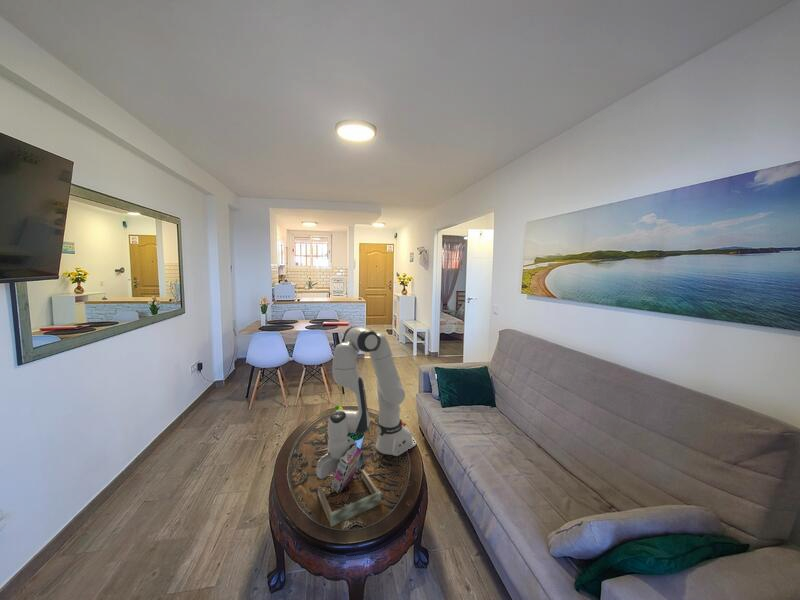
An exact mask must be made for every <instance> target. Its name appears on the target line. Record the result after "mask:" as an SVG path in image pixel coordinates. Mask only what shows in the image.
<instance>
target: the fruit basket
mask: <svg viewBox="0 0 800 600" xmlns="http://www.w3.org/2000/svg"><path fill="white" fill-rule="evenodd" d="M333 409H334V411H336V410H345V409H344V408H343V407H342V406H341V405H339V404H336V405H334V408H333Z"/></svg>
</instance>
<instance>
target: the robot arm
mask: <svg viewBox="0 0 800 600" xmlns="http://www.w3.org/2000/svg"><path fill="white" fill-rule="evenodd" d="M360 351H361V352H363V353H369V357H370V361H371V364H372V367H373V371H374V374H375V377H376V389H377V401H378V422H377V439H376V443H375V449H376V450H377V451H378V452H379V453H381V454H382V455H391V456H394V457H398V456H400V455H402V454H404V453H405V452H407V451H408V449H409V450H410V449H412V448H414V447H415V446H417V441H416V439H415V438H414V436H413V435H412V434H413V433H412V432H411V431H410V429H409V428H408V427H406V425H407V423H406V422H405V421H404V420H402V419H401V418H400V416H401V407H400V405H401V404H402V403H403V402H404V400H405V398H406V393H405V390H404V386H403V383H402V380H401V377H400V374H399V372H398V370H397V367H396V364H395V361H394V357H393V354H392V349H391V346H390V344H389V341H388V340H387V338H386V336H385V335H384V334H383V333H377V332H376V331H374V330H372V329H369V328H366V327H363V326H361V327H360V326H355V325H354V326H351V327H348V328H347V329H346V330H345V332H344V334H343V338H342V339H341V343H339V344H337V345H336V346H335V347H334V352H333V357H332V368H331V369H332V371H331V372H332V378H333V380H334V381H335V383H336V384H338V385H339V386H340V387H342V388H345V389H347V390H349V391H351V392H352V393H354V395H355V398H356V405H357V410H348V409H344V410H336V411H335V410H334V412H331V414H330V415H329V417H328V422H327V434H328V438H329V439H328V444H327V453H326V454H324V455H322V456H320V457H319V459H318V461H317V462H316V476H317V477H318V478H319V479H320V480H323V479H325V478H326V477H328V476H330V475H331V474H333V476H334V475H335V472H336V468H337V465H338V462H339V459H340V458H341V457H342V456H343V455H344V454H345V453H346V452H347V451H348V450H349V449H350V448H351V447H352V446H353V445H355V446H357V447H358V445H357V444H358V443H357V441H355V440H354V439H353V438H351V437H349V436H348V434H349V433H353V434H360V435H363V434H364V433H366V432H367V431H368V430H369V428H370V424H371V421H370V419H371V418H370V415H369V414H370V413H369V410H368V403H367V402H368V401H367V398H366V397H367V396H366V395H367V394H366V389H365V384H364V381H363V378H362V377H361V376H359V374H358V372H357V357H358V355H359V353H360ZM413 440H414V441H413ZM414 442H415V443H414Z"/></svg>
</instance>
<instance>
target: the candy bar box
mask: <svg viewBox="0 0 800 600" xmlns="http://www.w3.org/2000/svg"><path fill="white" fill-rule="evenodd" d="M362 452H363V450H362V448H359V447H358V445H357V446H355V445H353V446H352V447H351V448H350V449H349V450H348V451H347V452H346V453H345V454H344V455H343V456H342V457H341V458H340V459H339V462H338V465H337V468H336V472H335V475H334V474H333V478H332V481H331V484H330V489H331V490H333V491H334V492H335V493H336V494H340V493H341V492H342V491H343V489H345V487H346V486H347V485H348V484H349V483H350V481H352V479H353V478H354V475H355V472H356V471H357V466H358V464H359V462H360V458H361V454H362Z"/></svg>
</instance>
